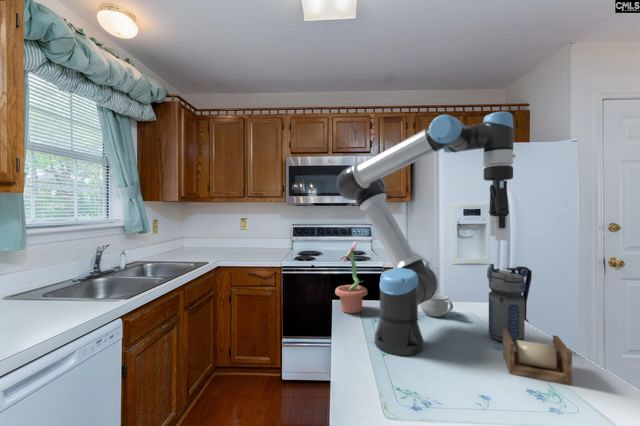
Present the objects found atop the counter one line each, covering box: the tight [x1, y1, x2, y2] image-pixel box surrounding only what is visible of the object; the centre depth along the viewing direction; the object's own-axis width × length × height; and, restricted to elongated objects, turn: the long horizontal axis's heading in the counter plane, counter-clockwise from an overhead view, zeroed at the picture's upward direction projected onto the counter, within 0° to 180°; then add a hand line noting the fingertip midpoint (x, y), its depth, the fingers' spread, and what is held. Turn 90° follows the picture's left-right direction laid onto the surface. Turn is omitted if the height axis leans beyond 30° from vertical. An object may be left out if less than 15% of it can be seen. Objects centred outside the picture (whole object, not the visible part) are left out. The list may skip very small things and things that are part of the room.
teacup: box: [420, 292, 454, 318], centre depth 121 cm, size 14×11×8 cm
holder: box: [502, 328, 573, 387], centre depth 80 cm, size 13×11×8 cm
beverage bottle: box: [486, 263, 532, 345], centre depth 99 cm, size 10×13×25 cm
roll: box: [514, 340, 557, 370], centre depth 80 cm, size 8×6×6 cm
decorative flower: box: [334, 241, 368, 314], centre depth 128 cm, size 15×14×30 cm
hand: (497, 238), depth 88 cm, fingers open, 13 cm apart
